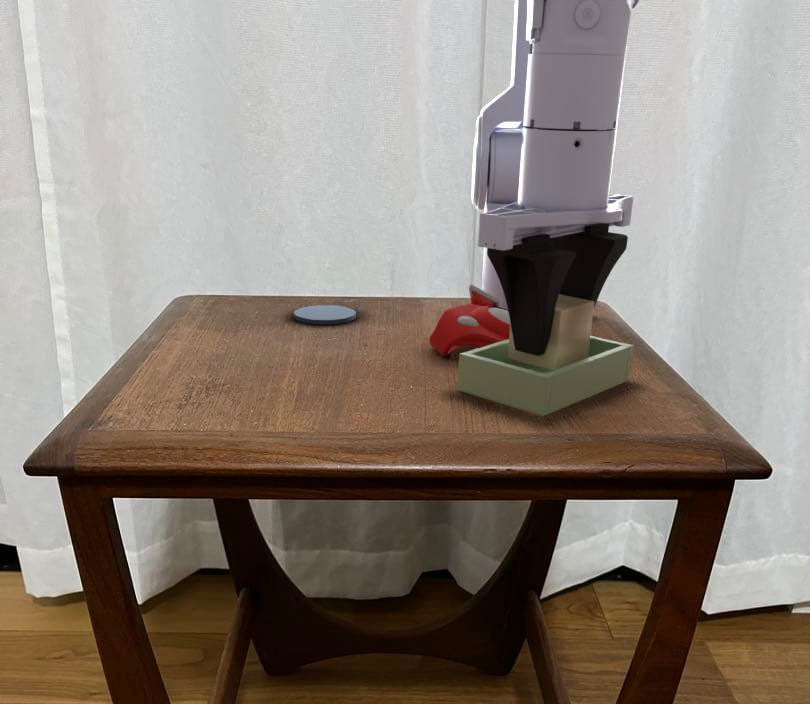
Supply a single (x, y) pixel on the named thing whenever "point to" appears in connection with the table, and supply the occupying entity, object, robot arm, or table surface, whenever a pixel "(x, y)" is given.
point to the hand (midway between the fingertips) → (548, 345)
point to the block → (562, 335)
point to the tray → (543, 376)
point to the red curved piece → (471, 324)
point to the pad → (324, 314)
